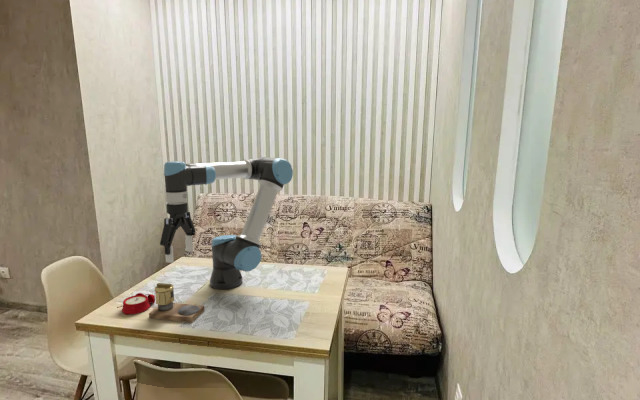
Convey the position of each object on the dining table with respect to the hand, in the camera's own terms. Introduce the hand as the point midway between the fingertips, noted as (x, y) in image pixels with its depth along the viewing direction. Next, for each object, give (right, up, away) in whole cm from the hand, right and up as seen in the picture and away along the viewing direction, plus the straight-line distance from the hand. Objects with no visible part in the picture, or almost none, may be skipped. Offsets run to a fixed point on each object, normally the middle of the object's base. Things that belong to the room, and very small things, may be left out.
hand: (180, 256), depth 143 cm
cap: (-7, -18, +3) cm, 20 cm away
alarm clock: (-20, -23, +10) cm, 32 cm away
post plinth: (-2, -23, +3) cm, 24 cm away
